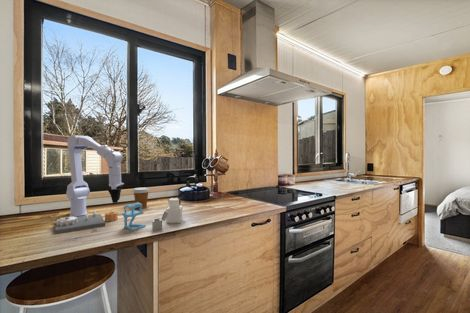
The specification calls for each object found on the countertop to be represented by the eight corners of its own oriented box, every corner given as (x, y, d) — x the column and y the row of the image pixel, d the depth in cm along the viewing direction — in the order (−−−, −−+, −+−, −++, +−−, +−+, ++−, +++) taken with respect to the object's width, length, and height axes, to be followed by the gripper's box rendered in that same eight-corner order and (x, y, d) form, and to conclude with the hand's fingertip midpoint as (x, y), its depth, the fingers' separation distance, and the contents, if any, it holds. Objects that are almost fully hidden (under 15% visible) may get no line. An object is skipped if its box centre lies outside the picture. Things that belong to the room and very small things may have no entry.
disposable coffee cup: (140, 210, 142) (140, 190, 142) (129, 208, 147) (129, 189, 146) (152, 206, 151) (152, 188, 151) (141, 204, 155) (141, 186, 155)
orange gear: (104, 219, 123) (104, 212, 123) (116, 217, 127) (116, 211, 127) (105, 221, 119) (105, 215, 119) (118, 220, 122) (118, 213, 122)
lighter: (153, 230, 107) (153, 213, 107) (152, 229, 109) (152, 212, 108) (168, 228, 111) (168, 211, 111) (167, 227, 113) (167, 210, 112)
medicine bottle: (168, 218, 125) (168, 196, 125) (182, 218, 126) (182, 196, 126) (166, 223, 118) (166, 199, 118) (180, 223, 119) (180, 199, 119)
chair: (133, 224, 117) (133, 200, 116) (145, 226, 113) (145, 201, 113) (119, 228, 110) (119, 203, 109) (132, 231, 106) (132, 205, 106)
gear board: (56, 222, 117) (56, 214, 116) (100, 216, 128) (100, 208, 128) (55, 233, 102) (55, 223, 102) (105, 225, 113) (105, 216, 113)
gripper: (122, 175, 117) (123, 203, 117) (124, 173, 131) (125, 198, 131) (106, 176, 114) (107, 204, 115) (110, 174, 128) (111, 199, 128)
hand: (116, 201), depth 123 cm, fingers open, 7 cm apart
